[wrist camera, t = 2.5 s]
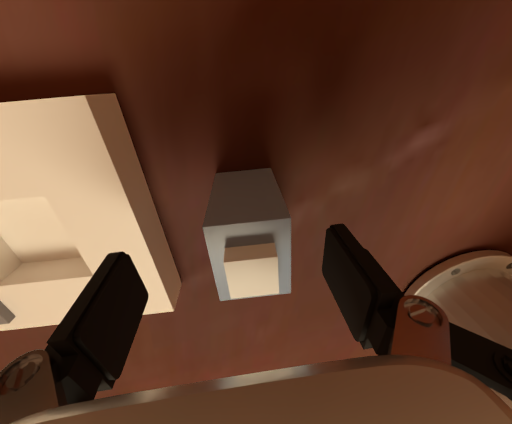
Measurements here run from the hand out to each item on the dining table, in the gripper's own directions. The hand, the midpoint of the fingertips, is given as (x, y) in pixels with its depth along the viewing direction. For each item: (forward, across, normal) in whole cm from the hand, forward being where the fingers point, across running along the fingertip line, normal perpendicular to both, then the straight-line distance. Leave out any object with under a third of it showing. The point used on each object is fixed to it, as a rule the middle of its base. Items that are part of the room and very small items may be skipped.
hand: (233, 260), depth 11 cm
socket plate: (+8, +14, +1) cm, 16 cm away
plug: (+7, -1, +1) cm, 7 cm away
